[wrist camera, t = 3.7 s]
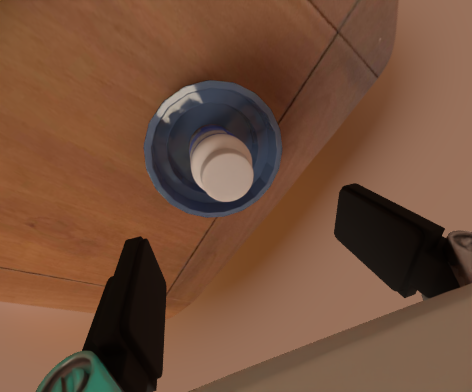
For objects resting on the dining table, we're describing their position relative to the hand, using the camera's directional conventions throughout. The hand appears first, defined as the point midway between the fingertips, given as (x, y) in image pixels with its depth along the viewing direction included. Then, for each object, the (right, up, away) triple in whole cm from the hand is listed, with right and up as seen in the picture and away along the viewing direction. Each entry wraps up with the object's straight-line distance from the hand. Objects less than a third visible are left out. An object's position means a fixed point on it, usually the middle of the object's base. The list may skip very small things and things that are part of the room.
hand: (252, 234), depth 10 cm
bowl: (-4, +8, +14) cm, 17 cm away
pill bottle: (-4, +7, +14) cm, 16 cm away
